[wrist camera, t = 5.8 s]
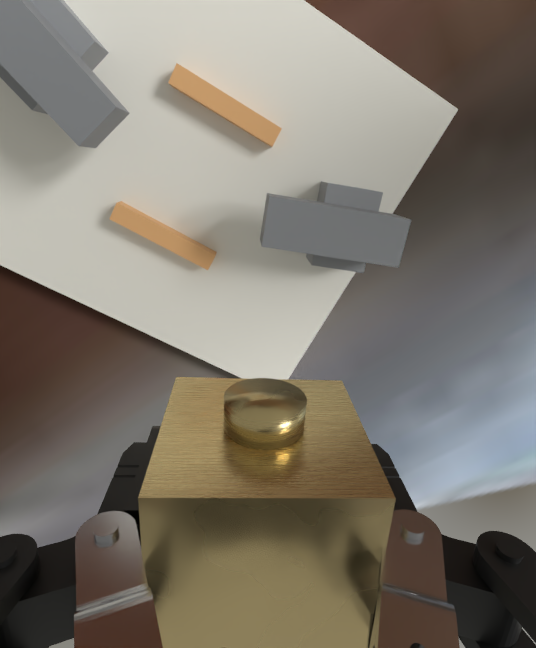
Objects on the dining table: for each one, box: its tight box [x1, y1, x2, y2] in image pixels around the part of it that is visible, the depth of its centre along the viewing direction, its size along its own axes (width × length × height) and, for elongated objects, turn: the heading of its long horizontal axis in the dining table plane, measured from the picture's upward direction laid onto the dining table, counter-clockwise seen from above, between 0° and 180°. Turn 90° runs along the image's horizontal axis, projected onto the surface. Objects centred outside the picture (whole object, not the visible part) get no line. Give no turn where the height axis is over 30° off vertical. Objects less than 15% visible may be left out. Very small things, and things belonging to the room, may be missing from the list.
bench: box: [0, 0, 458, 380], centre depth 23 cm, size 22×20×6 cm
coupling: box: [138, 377, 396, 648], centre depth 12 cm, size 7×5×5 cm
